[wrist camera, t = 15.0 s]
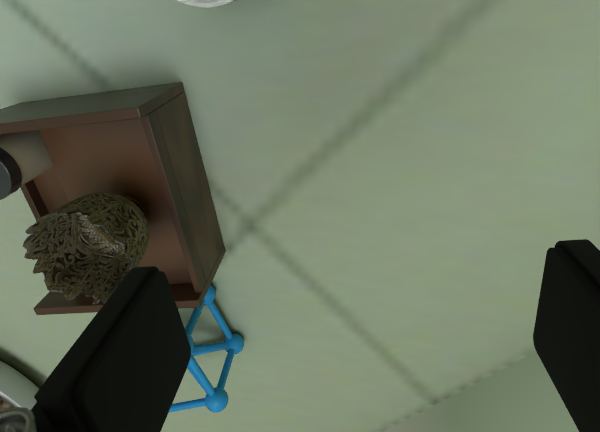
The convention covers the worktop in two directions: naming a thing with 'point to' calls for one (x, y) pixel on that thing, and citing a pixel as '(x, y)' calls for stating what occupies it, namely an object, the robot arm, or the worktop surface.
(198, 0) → the white cup
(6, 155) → the spice jar
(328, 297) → the worktop surface
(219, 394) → the molecular structure
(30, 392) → the bowl
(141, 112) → the spice rack
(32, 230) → the brown hollow bell-shaped piece
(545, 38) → the worktop surface
